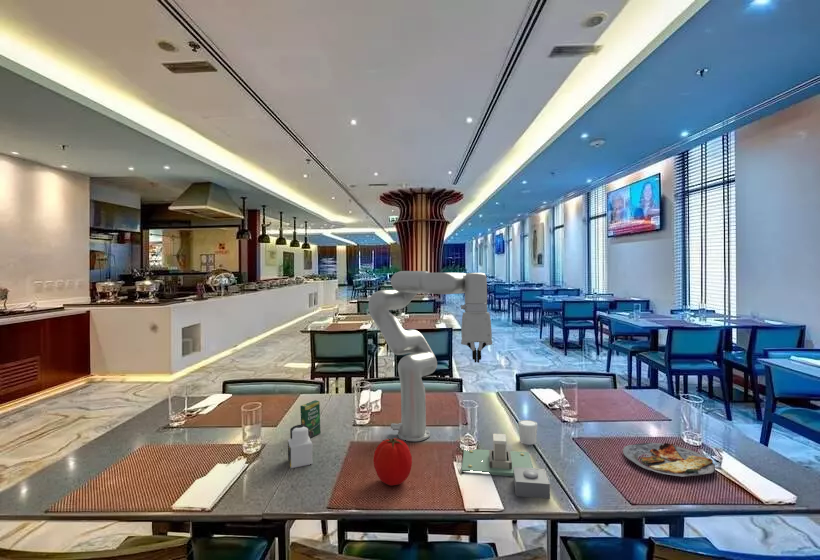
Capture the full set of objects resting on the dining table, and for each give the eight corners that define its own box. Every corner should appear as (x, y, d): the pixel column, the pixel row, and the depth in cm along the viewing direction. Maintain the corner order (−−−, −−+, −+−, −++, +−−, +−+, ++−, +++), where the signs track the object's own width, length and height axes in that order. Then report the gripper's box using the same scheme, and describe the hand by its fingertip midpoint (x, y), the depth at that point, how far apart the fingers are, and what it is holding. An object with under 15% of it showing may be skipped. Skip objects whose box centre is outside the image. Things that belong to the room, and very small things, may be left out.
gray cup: (538, 445, 145) (538, 426, 145) (519, 444, 146) (518, 425, 146) (536, 438, 152) (536, 420, 152) (518, 437, 153) (517, 419, 153)
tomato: (416, 474, 125) (415, 432, 125) (407, 495, 113) (406, 448, 113) (380, 471, 128) (379, 429, 128) (367, 491, 116) (367, 445, 116)
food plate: (672, 445, 143) (671, 435, 143) (735, 476, 120) (734, 465, 120) (608, 453, 139) (608, 443, 139) (661, 487, 116) (661, 475, 116)
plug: (493, 466, 128) (493, 440, 128) (493, 457, 134) (493, 433, 134) (506, 467, 127) (506, 441, 127) (505, 458, 133) (505, 434, 133)
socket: (489, 467, 127) (489, 461, 127) (489, 455, 135) (489, 449, 135) (511, 469, 125) (511, 462, 125) (510, 456, 134) (509, 450, 134)
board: (461, 472, 126) (461, 468, 126) (464, 451, 141) (464, 447, 141) (535, 477, 122) (535, 473, 122) (529, 455, 137) (529, 451, 137)
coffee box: (305, 440, 154) (305, 406, 154) (300, 439, 155) (299, 405, 155) (321, 433, 161) (320, 400, 161) (315, 432, 162) (315, 399, 162)
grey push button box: (516, 496, 112) (515, 479, 112) (513, 480, 120) (513, 464, 120) (550, 498, 110) (549, 481, 110) (545, 482, 119) (544, 466, 119)
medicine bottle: (287, 460, 137) (287, 424, 137) (309, 456, 140) (308, 421, 140) (290, 468, 131) (289, 431, 131) (312, 464, 133) (312, 428, 133)
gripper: (453, 309, 136) (454, 363, 136) (498, 309, 134) (499, 364, 134) (455, 307, 144) (455, 359, 144) (497, 307, 141) (498, 360, 141)
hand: (476, 361), depth 139 cm, fingers closed
